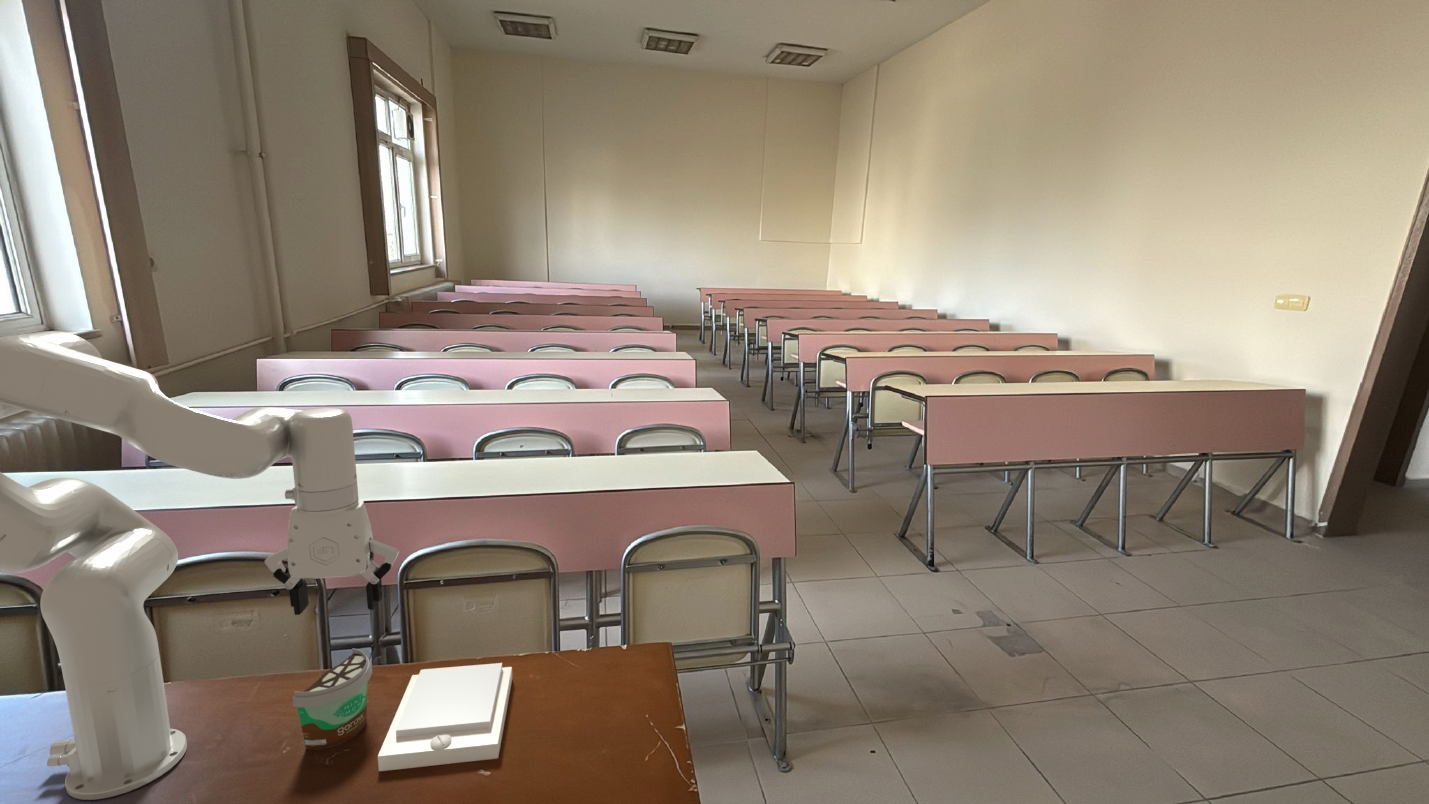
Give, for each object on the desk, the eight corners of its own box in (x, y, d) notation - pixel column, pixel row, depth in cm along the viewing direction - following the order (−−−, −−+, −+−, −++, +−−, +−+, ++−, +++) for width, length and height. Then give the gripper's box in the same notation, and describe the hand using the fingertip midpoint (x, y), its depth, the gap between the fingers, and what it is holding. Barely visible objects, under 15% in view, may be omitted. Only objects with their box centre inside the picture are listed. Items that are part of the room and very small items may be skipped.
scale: (378, 771, 91) (377, 748, 90) (413, 688, 109) (412, 668, 108) (498, 758, 94) (497, 736, 93) (512, 679, 112) (511, 660, 112)
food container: (334, 763, 92) (329, 700, 90) (297, 756, 93) (291, 693, 91) (393, 708, 104) (389, 651, 102) (359, 702, 105) (355, 646, 103)
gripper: (245, 508, 86) (259, 626, 90) (386, 502, 90) (394, 616, 93) (272, 490, 93) (284, 599, 97) (400, 485, 97) (408, 591, 100)
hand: (338, 607), depth 95 cm, fingers open, 9 cm apart
